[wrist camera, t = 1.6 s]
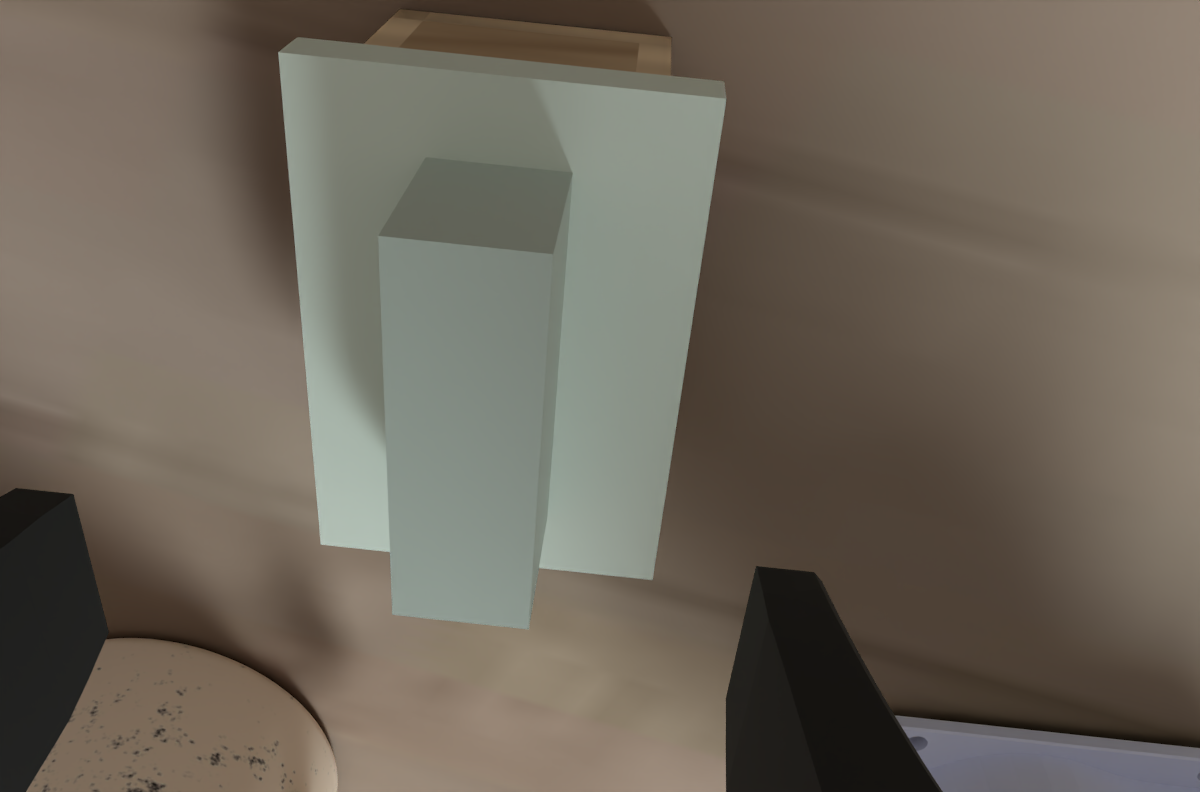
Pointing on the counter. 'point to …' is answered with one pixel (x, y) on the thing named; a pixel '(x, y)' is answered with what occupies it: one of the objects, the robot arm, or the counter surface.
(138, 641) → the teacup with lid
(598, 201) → the lid
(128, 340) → the counter surface
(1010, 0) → the counter surface
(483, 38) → the box
